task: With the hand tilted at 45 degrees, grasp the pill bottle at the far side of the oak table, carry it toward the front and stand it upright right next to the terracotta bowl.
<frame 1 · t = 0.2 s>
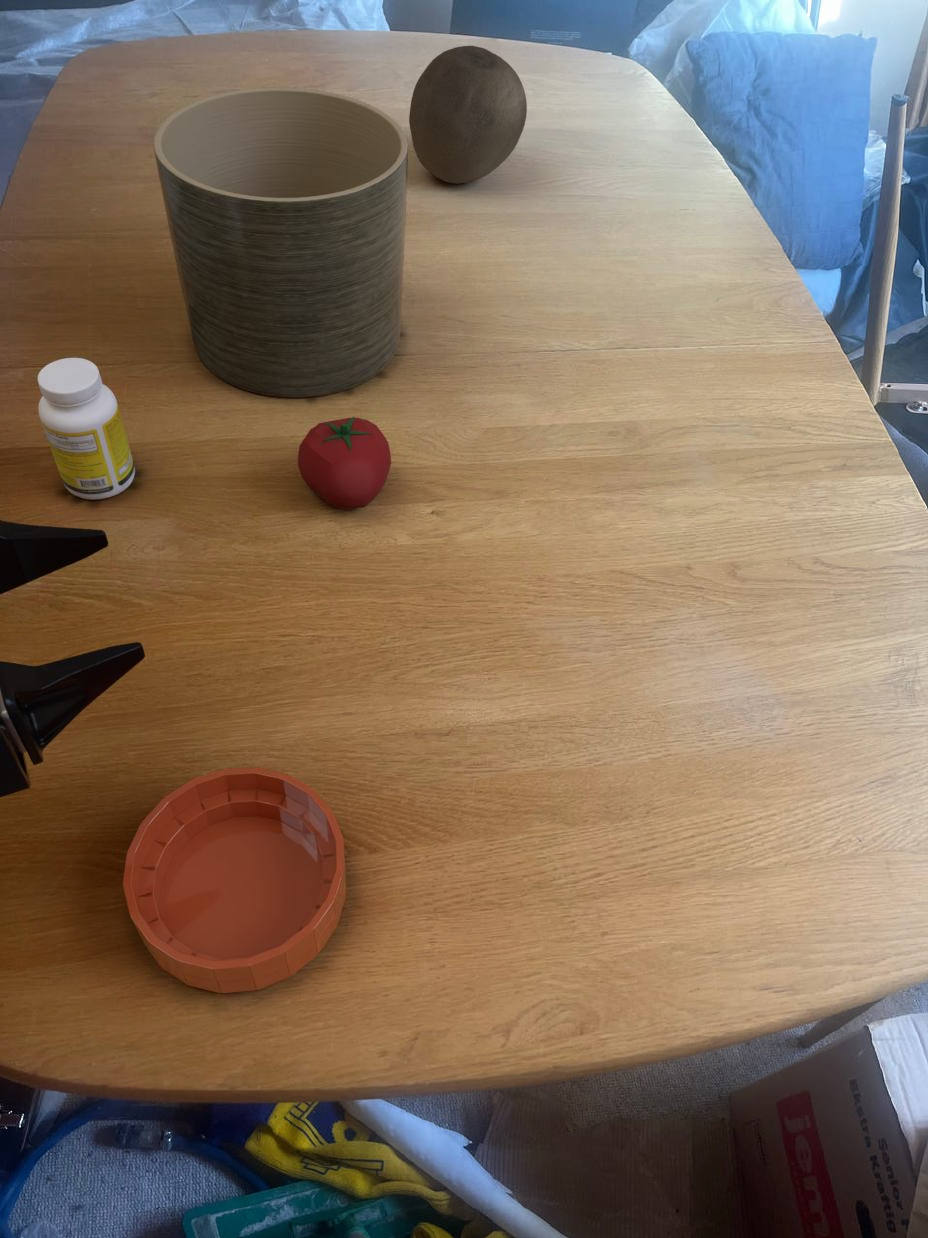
hand: (124, 591, 55), 17 cm above the table, tool horizontal, fingers open, 9 cm apart
pill bottle: (100, 479, 85), on the table
egg shaped brown fruit: (462, 178, 125), on the table
bowl: (243, 892, 61), on the table
tomato: (349, 492, 86), on the table
planter: (298, 337, 100), on the table
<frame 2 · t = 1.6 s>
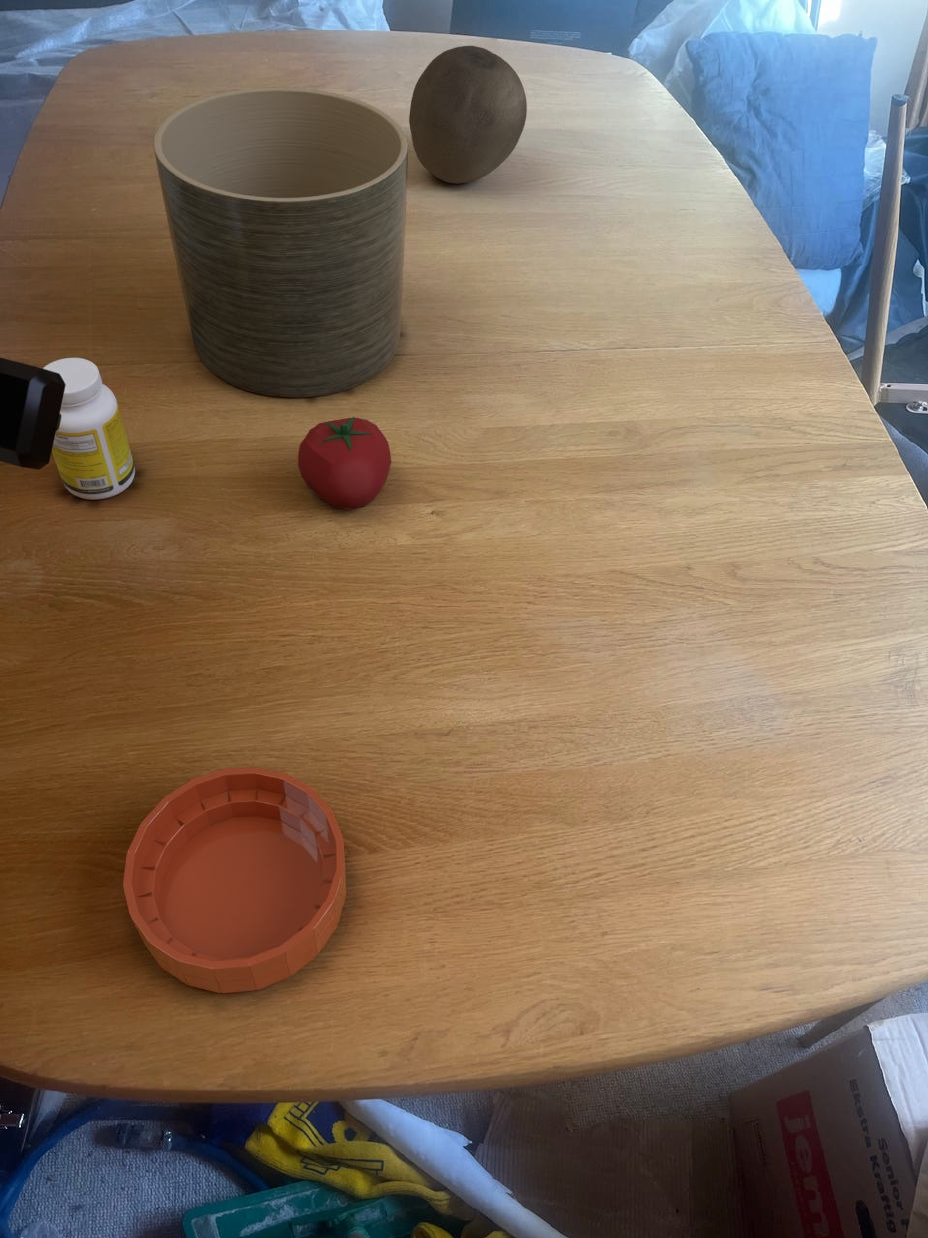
hand: (1, 406, 69), 14 cm above the table, tool tilted 45°, fingers open, 9 cm apart
nothing on the table moved.
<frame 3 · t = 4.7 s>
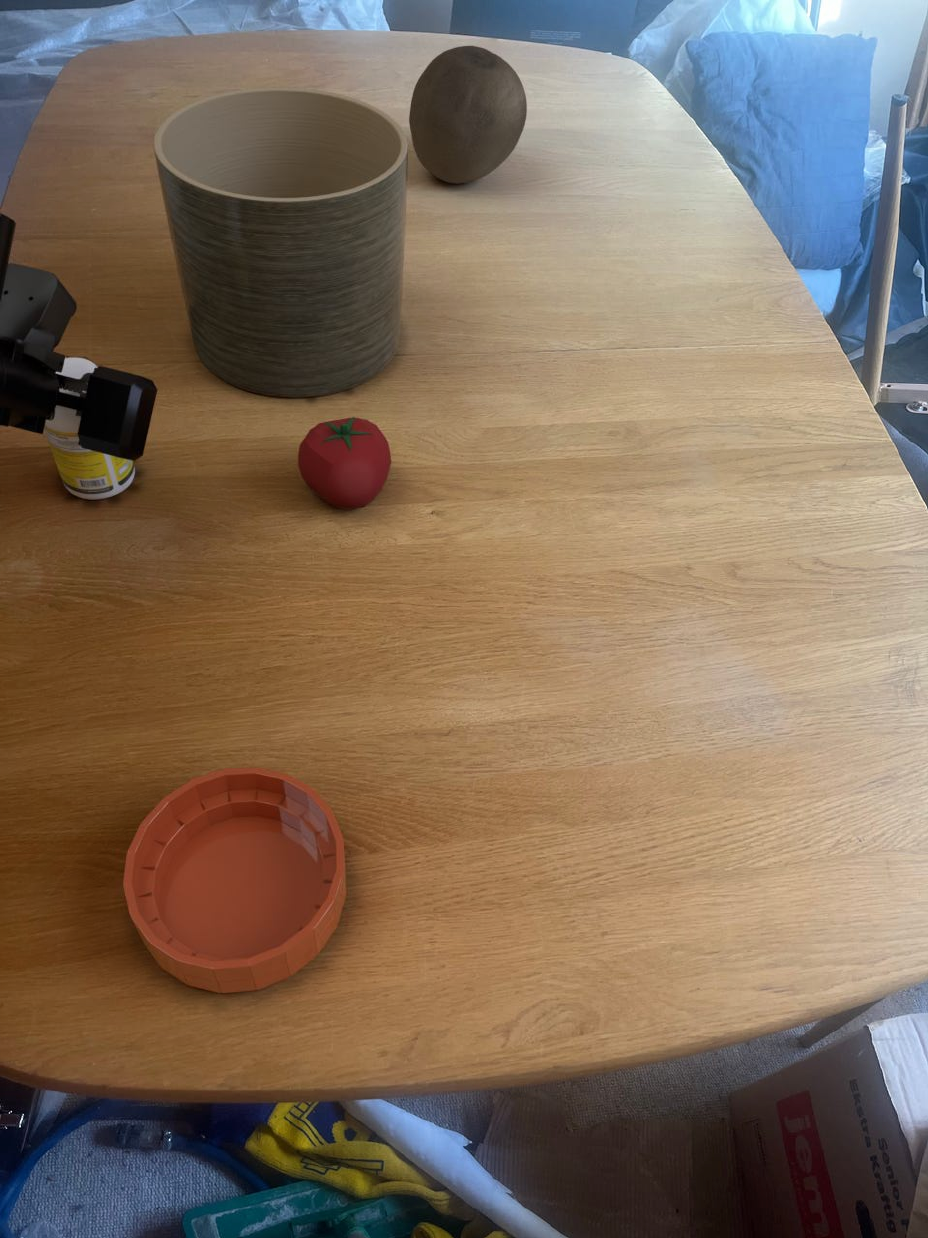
hand: (91, 408, 81), 7 cm above the table, tool tilted 45°, fingers closed on pill bottle, 6 cm apart
pill bottle: (100, 479, 85), on the table, touching gripper
everything else where it was.
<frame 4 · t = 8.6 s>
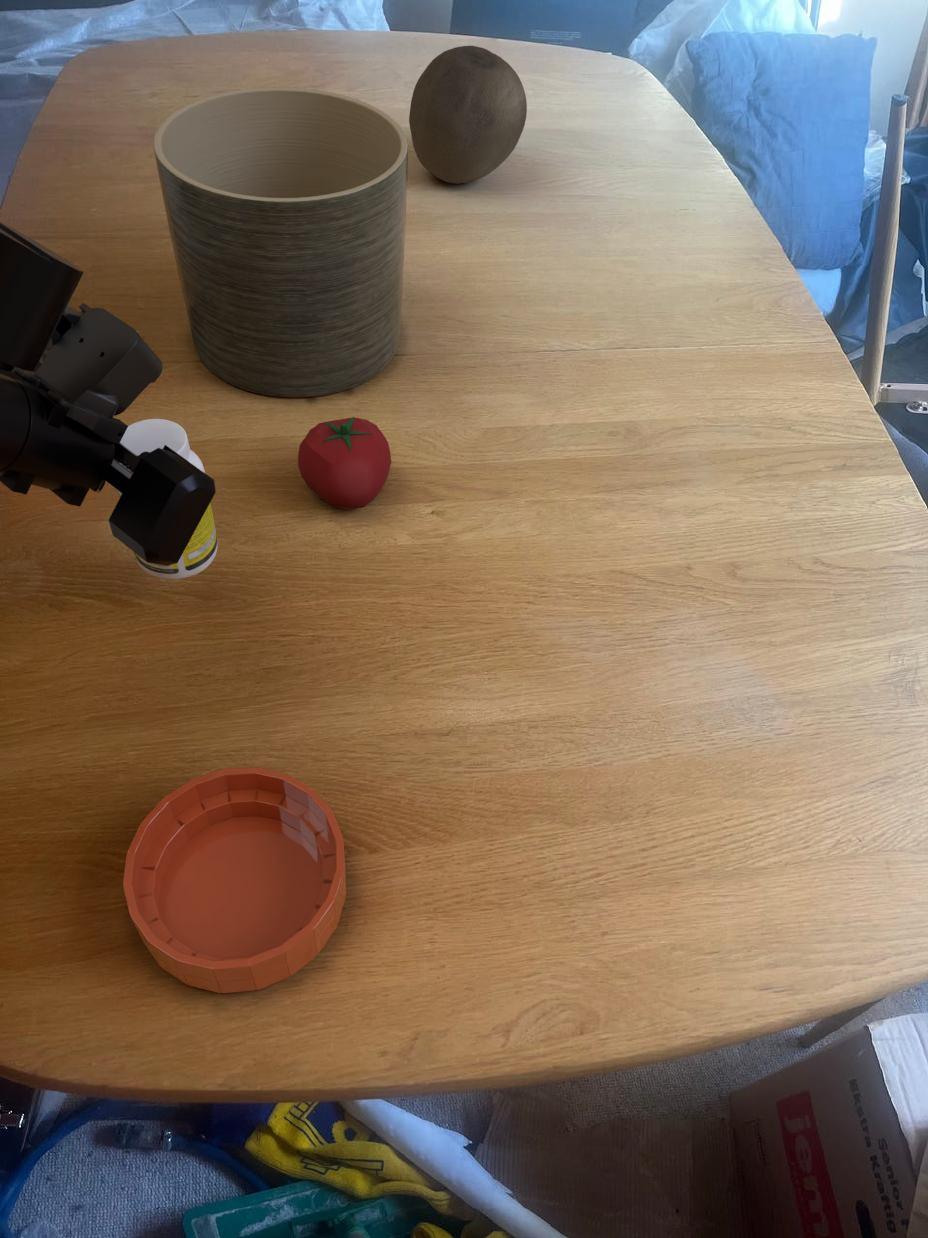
hand: (178, 479, 69), 11 cm above the table, tool tilted 45°, fingers closed on pill bottle, 6 cm apart
pill bottle: (177, 554, 74), point 4 cm above the table, touching gripper
everything else where it was.
when the fingers open (7 cm above the table, at t = 12.9 s): pill bottle stays where it is, on the table.
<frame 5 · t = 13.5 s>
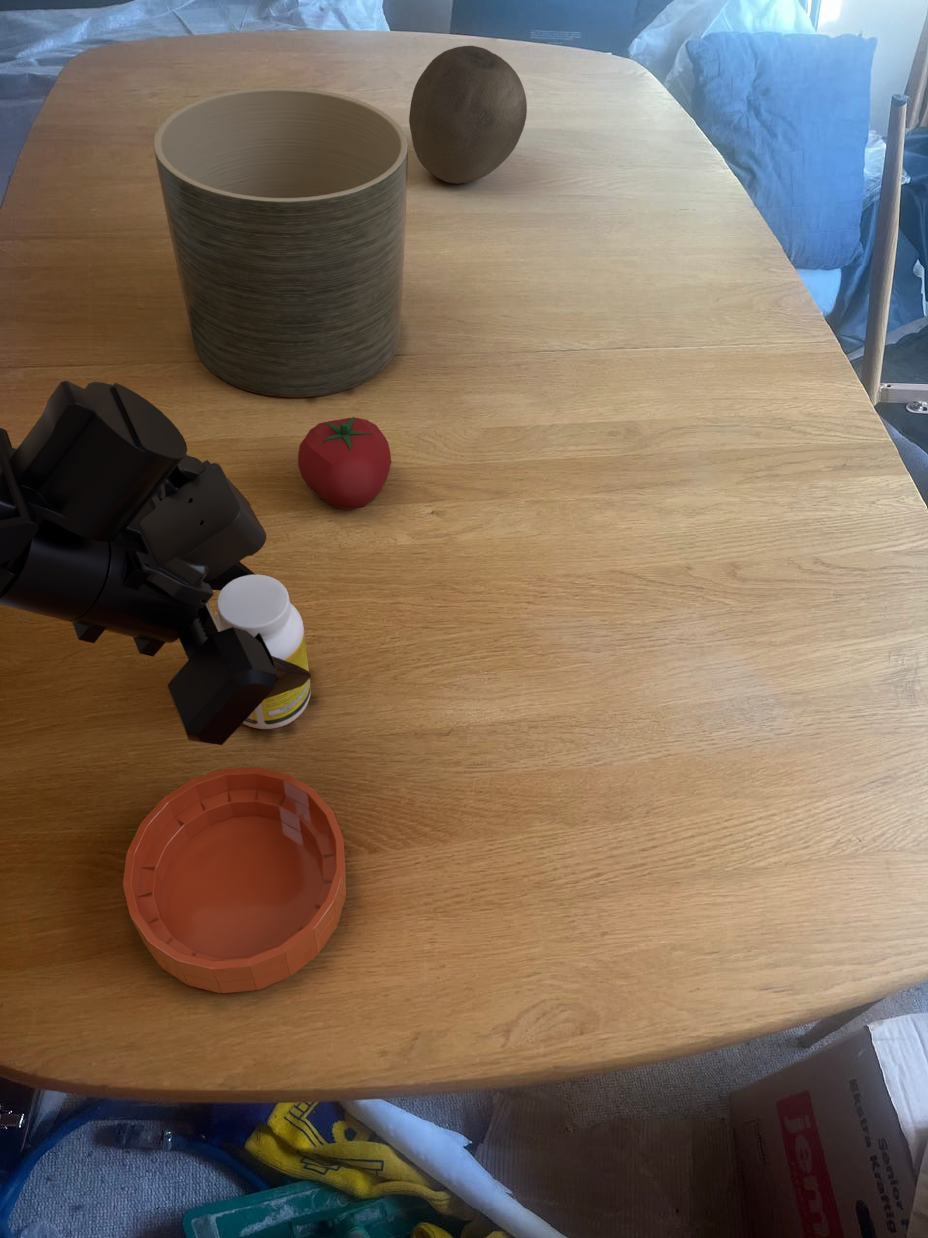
hand: (281, 630, 66), 7 cm above the table, tool tilted 45°, fingers open, 9 cm apart
pill bottle: (269, 698, 71), on the table
everything else where it was.
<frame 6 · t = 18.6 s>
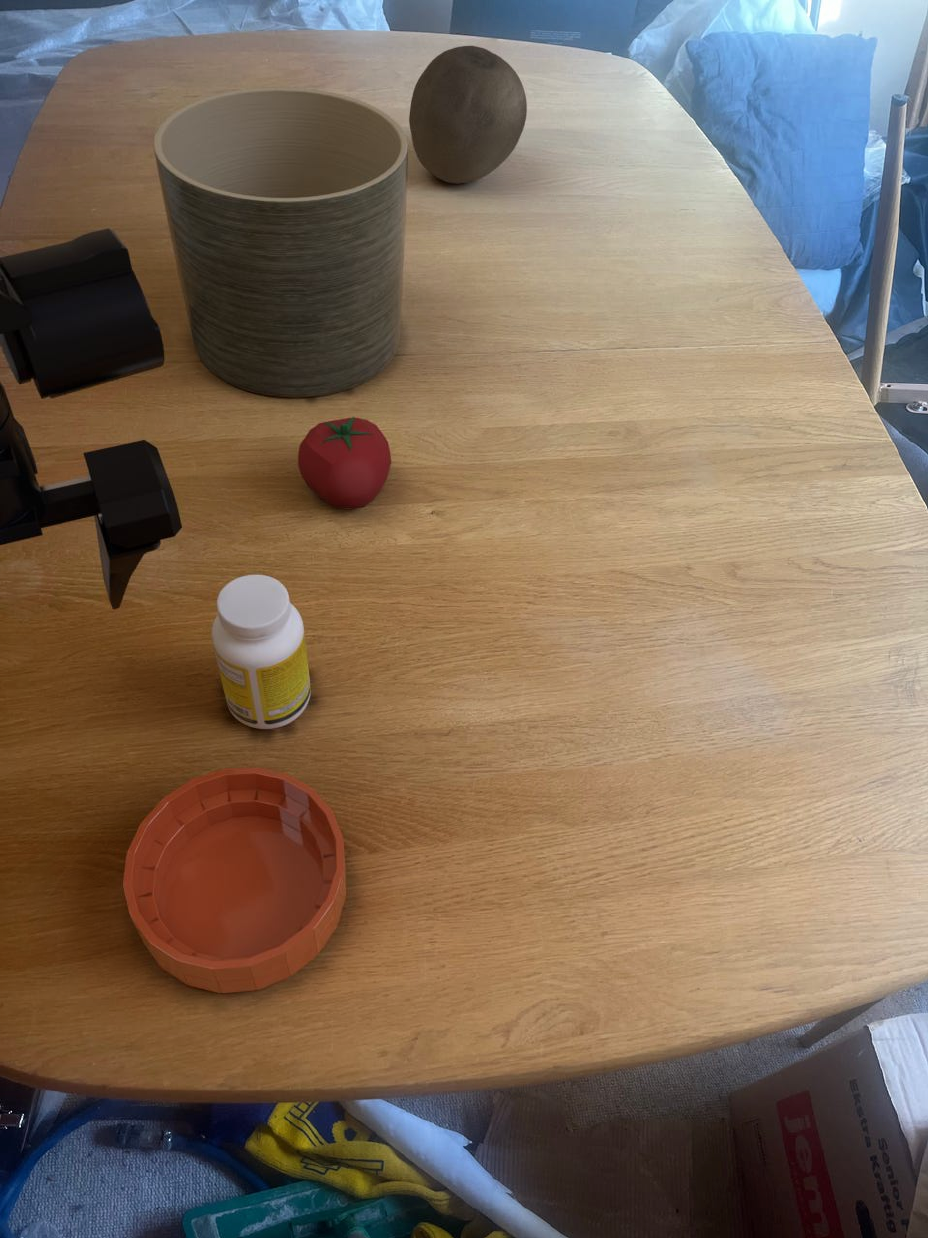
hand: (36, 624, 58), 13 cm above the table, tool pointing down, fingers open, 9 cm apart
nothing on the table moved.
at the end: pill bottle 15.2 cm from the bowl (horizontally); pill bottle moved 28.8 cm from its start; pill bottle tilted 0° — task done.
